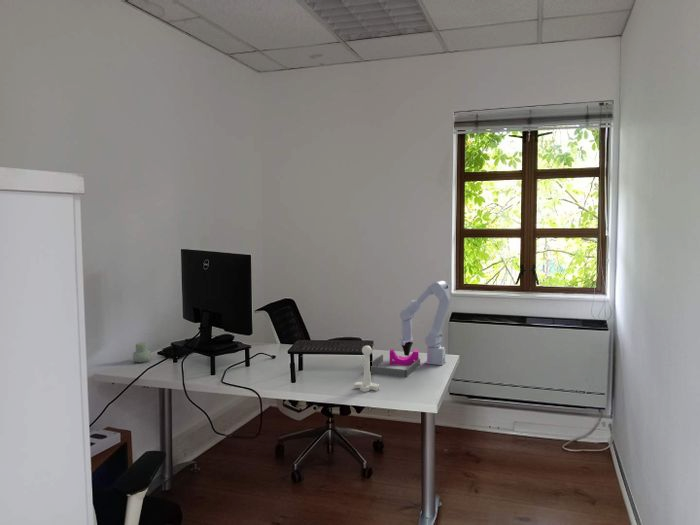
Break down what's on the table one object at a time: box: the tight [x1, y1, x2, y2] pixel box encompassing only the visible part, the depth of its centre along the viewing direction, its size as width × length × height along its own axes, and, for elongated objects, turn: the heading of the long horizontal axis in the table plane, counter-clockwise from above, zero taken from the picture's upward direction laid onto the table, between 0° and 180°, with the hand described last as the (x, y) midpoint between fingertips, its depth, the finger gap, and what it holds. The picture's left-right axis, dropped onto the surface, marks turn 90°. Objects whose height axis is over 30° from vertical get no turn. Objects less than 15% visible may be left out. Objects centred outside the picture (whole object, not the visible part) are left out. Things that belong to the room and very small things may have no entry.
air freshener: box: [132, 342, 152, 363], centre depth 294 cm, size 11×8×10 cm
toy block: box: [389, 349, 420, 366], centre depth 284 cm, size 15×6×8 cm, turn 80°
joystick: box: [353, 345, 380, 393], centre depth 241 cm, size 11×8×20 cm
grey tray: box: [371, 354, 421, 378], centre depth 274 cm, size 22×23×4 cm
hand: (406, 355), depth 294 cm, fingers closed
